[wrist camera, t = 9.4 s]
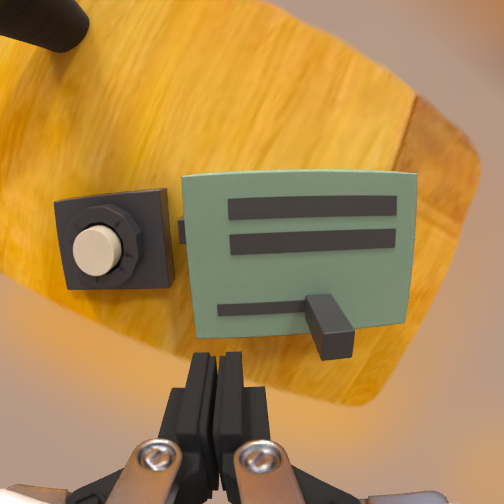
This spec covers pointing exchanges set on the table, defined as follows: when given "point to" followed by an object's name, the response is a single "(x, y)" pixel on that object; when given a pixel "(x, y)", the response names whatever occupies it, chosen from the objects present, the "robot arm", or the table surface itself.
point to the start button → (97, 250)
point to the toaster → (297, 247)
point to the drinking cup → (44, 23)
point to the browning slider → (329, 327)
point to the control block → (130, 234)
